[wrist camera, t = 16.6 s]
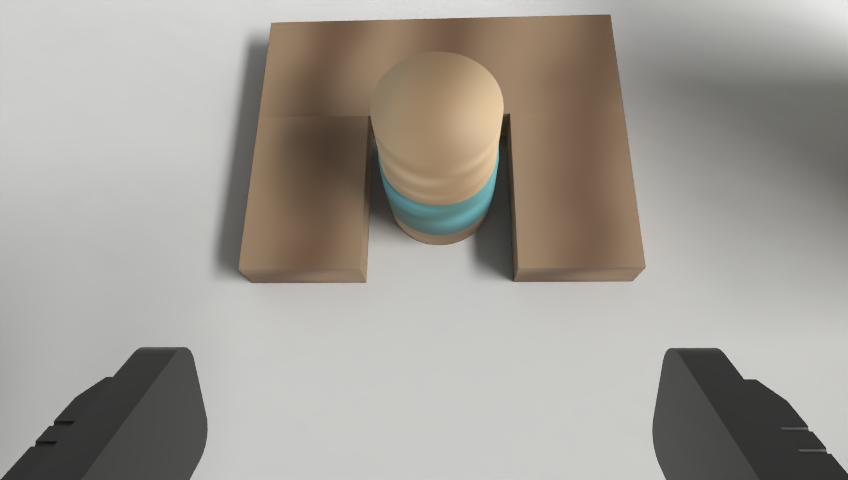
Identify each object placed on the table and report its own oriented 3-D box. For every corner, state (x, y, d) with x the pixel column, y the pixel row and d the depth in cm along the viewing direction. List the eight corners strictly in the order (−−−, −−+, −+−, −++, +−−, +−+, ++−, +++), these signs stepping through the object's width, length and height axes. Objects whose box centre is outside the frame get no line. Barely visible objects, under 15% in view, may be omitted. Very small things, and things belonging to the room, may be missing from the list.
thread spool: (386, 247, 28) (363, 167, 21) (390, 154, 30) (370, 50, 23) (493, 246, 28) (509, 166, 20) (490, 152, 30) (503, 47, 22)
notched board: (252, 283, 28) (238, 269, 26) (281, 48, 33) (271, 22, 31) (632, 281, 27) (645, 267, 25) (600, 40, 32) (610, 14, 30)
